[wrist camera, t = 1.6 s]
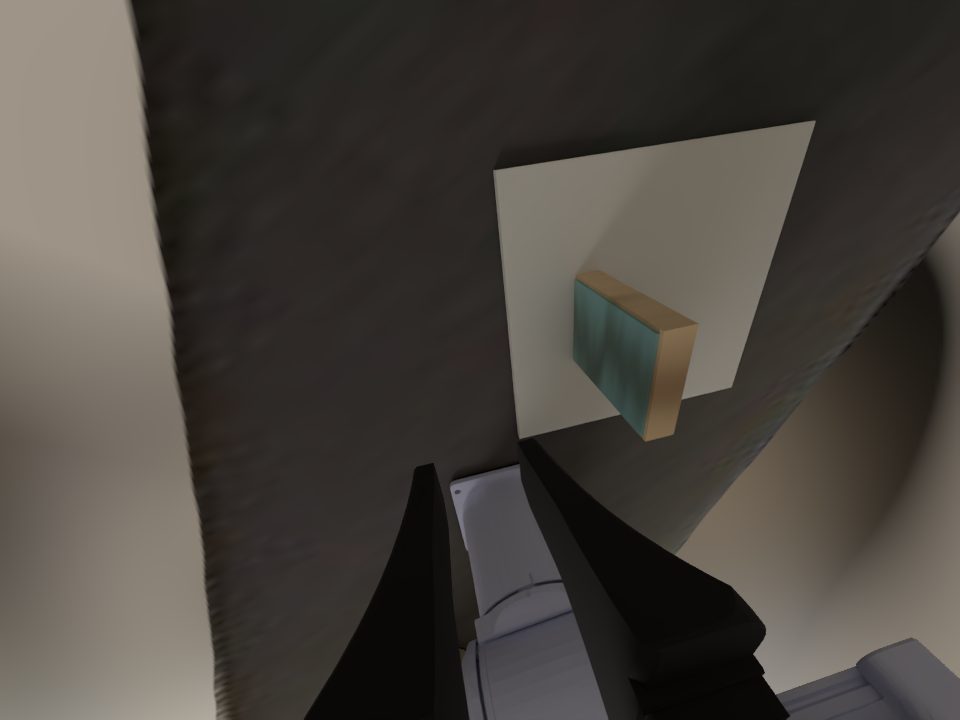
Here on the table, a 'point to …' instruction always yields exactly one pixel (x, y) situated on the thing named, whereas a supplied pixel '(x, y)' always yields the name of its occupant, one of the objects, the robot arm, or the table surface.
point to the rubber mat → (640, 254)
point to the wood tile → (632, 351)
